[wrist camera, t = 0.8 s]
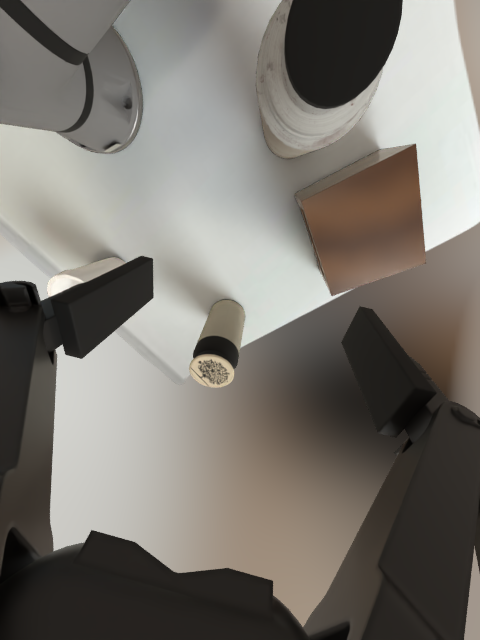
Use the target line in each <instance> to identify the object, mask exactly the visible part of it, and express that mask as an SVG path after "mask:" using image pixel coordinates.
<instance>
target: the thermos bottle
mask: <svg viewBox="0 0 480 640" xmlns="http://www.w3.org/2000/svg"><path fill="white" fill-rule="evenodd" d="M402 2H403V0H282V2H281V3H280V4H279V6H278V7H277V9H276V11H275V12H274V14H273V16H272V17H271V19H270V21H269V24H268V26H267V28H266V31H265V33H264V36H263V39H262V42H261V46H260V50H259V54H258V61H257V69H256V91H257V97H258V103H259V109H260V114H261V120H262V126H263V131H264V137H265V140H266V143H267V145H268V147H269V149H270V150H271V151H272V152H273V153H274V154H275V155H277V156H279V157H281V158H285V159H291V158H295V157H298V156H301V155H303V154H307V153H309V152H312V151H315V150H318V149H321V148H323V147H326V146H328V145H330V144H332V143H334V142H336V141H337V140H339V139H340V138H341V137H343V136H344V135H345V134H346V133H348V132H349V131H350V130H351V129H352V128H353V127H354V125H355V124H356V123H357V122H358V121H359V120H360V118H361V117H362V115H363V114H364V112H365V111H366V109H367V108H368V106H369V104H370V102H371V100H372V98H373V96H374V94H375V92H376V90H377V87H378V84H379V81H380V78H381V75H382V71H383V66H384V65H385V63H386V61H387V59H388V57H389V55H390V53H391V51H392V48H393V46H394V43H395V40H396V37H397V34H398V30H399V25H400V20H401V15H402Z"/></svg>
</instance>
